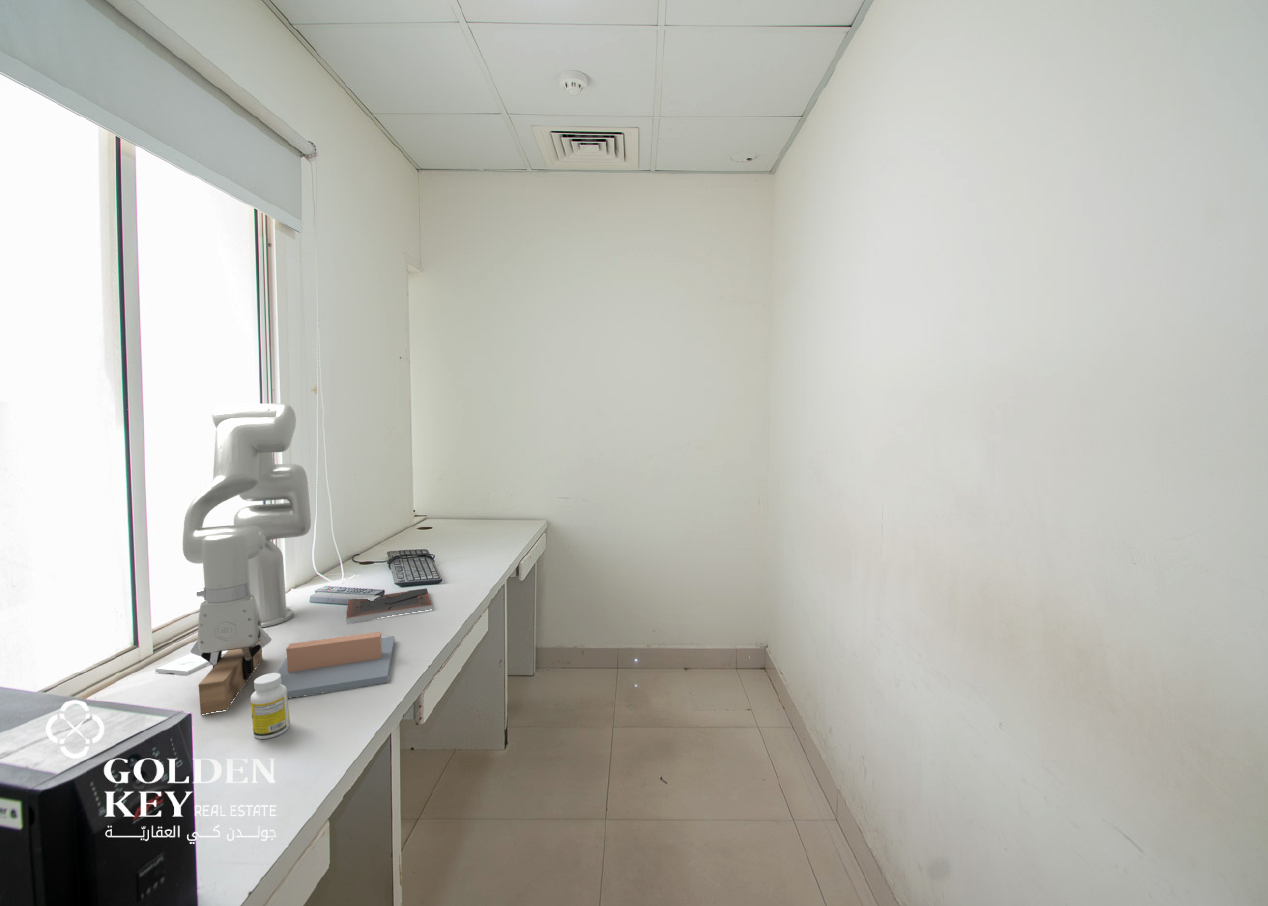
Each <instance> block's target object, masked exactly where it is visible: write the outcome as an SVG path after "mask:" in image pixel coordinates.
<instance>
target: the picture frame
mask: <svg viewBox="0 0 1268 906" xmlns="http://www.w3.org/2000/svg"><path fill="white" fill-rule="evenodd" d="M382 595H383V597H382V598H381V599H379V600H376V601H370V600H368V599H356V598H352V599H351V598H350V599H347V607H346V609H347V610H346V617H345V618H346V619H345V621H346V625H349V624H356V623H357V624H358V623H363V622H369V621H368V620H370V621H374V620H373V619H377V618H381V617H387V616H392V615H399V614H405V613H412V612H418V611H425V610H430V609H432V610H433V603H432V601H431V598H430V594H429V591H428V588H427V587H426V588H419V589H412V590H407V591H401V592H394V593H393V592H392V593H387V594H382ZM377 620H378V619H377Z"/></svg>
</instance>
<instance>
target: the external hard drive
mask: <svg viewBox="0 0 1268 906" xmlns="http://www.w3.org/2000/svg"><path fill="white" fill-rule="evenodd" d="M227 651H228V650H227ZM227 651H222V656H221V657H223V656H224V655H225V654H226V652H227ZM208 664H210V662H208V661H207V660H205V659H204V658H202V657H201V656H198V655H195V654H192V653H191V652H190V653H189V654H186V655H184V656H182V657H179V658H177V659H175V660H172V661H171V662H168V663H167V664H163V665H162V666H160V667H157V668H155V671H154V672H155V673H156V672H158V673H157V674H163V673H172V675H175V674H179V676H189V675H191V674H193V673H195V672H197V671H199V670H201V669H203V668H205V667H207V666H209V665H208ZM206 665H207V666H206ZM204 666H205V667H204ZM192 672H193V673H192ZM173 673H174V674H173ZM190 673H191V674H190ZM188 674H189V675H188Z"/></svg>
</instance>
